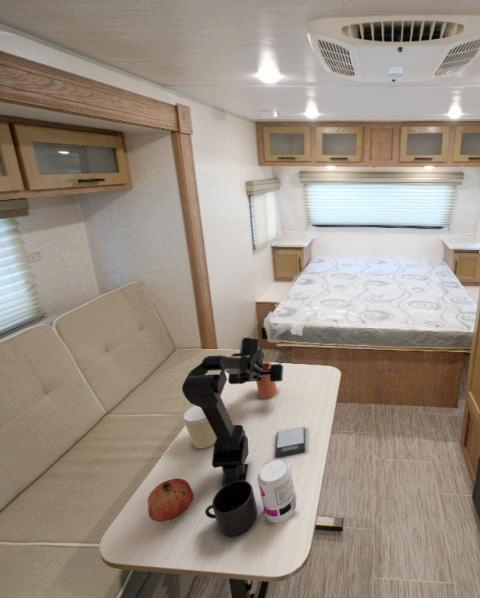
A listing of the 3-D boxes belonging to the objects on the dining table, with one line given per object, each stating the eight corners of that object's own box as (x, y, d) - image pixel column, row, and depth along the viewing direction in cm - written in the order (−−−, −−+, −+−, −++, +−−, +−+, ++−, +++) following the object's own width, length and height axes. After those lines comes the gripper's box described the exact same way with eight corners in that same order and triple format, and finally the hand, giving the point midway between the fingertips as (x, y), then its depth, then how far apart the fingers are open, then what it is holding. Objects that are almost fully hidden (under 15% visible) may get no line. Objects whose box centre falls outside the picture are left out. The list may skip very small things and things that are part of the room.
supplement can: (264, 528, 89) (255, 487, 83) (266, 500, 96) (258, 460, 90) (296, 520, 91) (289, 479, 85) (296, 493, 98) (290, 453, 92)
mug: (214, 508, 94) (207, 484, 90) (260, 500, 96) (255, 477, 92) (203, 543, 85) (195, 518, 82) (254, 534, 87) (248, 509, 84)
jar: (275, 397, 137) (271, 370, 132) (258, 400, 136) (253, 372, 131) (277, 387, 143) (272, 361, 138) (260, 389, 142) (255, 363, 137)
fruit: (204, 495, 97) (196, 469, 93) (182, 530, 88) (173, 503, 84) (167, 494, 98) (158, 468, 94) (142, 528, 88) (130, 501, 85)
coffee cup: (227, 430, 120) (220, 403, 116) (211, 451, 112) (203, 422, 107) (202, 428, 121) (194, 401, 117) (184, 449, 113) (175, 420, 108)
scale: (305, 451, 112) (304, 447, 111) (276, 457, 110) (275, 452, 109) (304, 430, 121) (304, 425, 120) (278, 435, 119) (277, 430, 118)
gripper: (278, 346, 123) (288, 356, 138) (224, 349, 121) (240, 358, 136) (276, 377, 119) (286, 384, 133) (221, 380, 117) (237, 387, 132)
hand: (262, 377), depth 134 cm, fingers open, 9 cm apart
